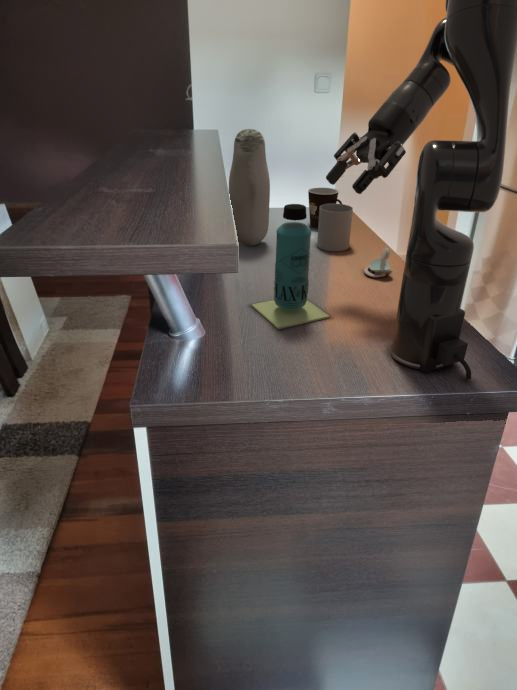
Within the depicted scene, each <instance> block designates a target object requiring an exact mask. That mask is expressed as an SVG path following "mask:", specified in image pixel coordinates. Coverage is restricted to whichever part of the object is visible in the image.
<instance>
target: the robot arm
mask: <svg viewBox="0 0 517 690" xmlns="http://www.w3.org/2000/svg"><path fill="white" fill-rule="evenodd" d="M444 2H445V3H444V9H445V13H446V17H444V18H442V19H441V20H440V21H439V22H438V23H437V24H436V26H435V27H434V29H433V31H432V33H431V35H430V37H429V40H428V42H427V44H426V46H425V49H424V51H423V53H422V54H421V56H420V58H419V60H418V62H417V63H416V65H415V66H414V68H413V69H412V70H411V71H410V73H409V74H408V75H407V77H405V79H404V80H403V81H402V82H401V83H400V84H399V85H398V87H396V88H395V89H394V90H393V91H392V93H391V94H390V95H389V96H388V97H387V98H386V100H385V101H384V102H383V103H382V105H380V107H379V108H378V110H376V111H375V113H374V114H373V115H372V116H371V118H370V119H369V121H368V123H367V126H368V129H367V132H366V133H365V134H363V135H362V136H359V135H358V134H357V132H353V133H352V134H351V135H350V136H349V137H347V139H346V140H345V141H344V142H343V144H341V146H340V148H338V150H336V152H335V153H334V154H333V158H334V159H335V161H336V163H335V164H334V166H333V167H332V168H331V169H330V170H329V172H328V173H327V174H326V176H325V179H326V181H327V182H328V183H329V184H330V185H332V186H335V184H336V183H337V182H338V181H339V180H340V179H341V177H342V176H343V175H344V174H345V172H346V170H348V169H350V168H351V167H353V166H359V165H360V164H367V167H366V168H367V169H364V170H363V172H362V173H361V174H360V175H359V176H358V177H357V179H356V180H355V181H354V182H353V184H352V189H353V191H354V192H355V193H356V194H358V195H361V194H363V192H364V191H366V190H367V188H368V187H369V186H370V185H371V184H372V183H373V181H374V180H377V179H379V177H382V178H383V179H386V178H387V177H389V175H390V174H391V173H392V172H393V170H394V169H395V167H396V166H397V165H398V164H399V163H400V161H401V160H402V158H403V157H404V156H405V155H406V153H407V151H406V149H405V148H404V146H403V145H405V144H406V142H407V141H408V140H409V138H410V137H411V136H412V135H413V133H414V132H415V131H416V130H417V129H418V128H419V126H420V125H421V124H422V123H423V121H424V120H425V119H426V117H427V116H428V115H429V112H431V109H432V108H433V107H434V106H435V105H436V104H437V102H438V101H439V100H440V99H441V98H442V96H443V95H444V94H445V93H446V92H447V90H448V88H449V87H450V85H451V82H452V81H451V75H450V73H449V70H448V69H447V68H446V66H445V65H443V63H442V62H444V63H446V64H449V65H450V66H453V67H454V69H455V70H456V73H457V74H458V76H459V79H461V83H462V84H463V86H464V88H465V90H466V92H467V94H468V96H469V100H470V103H471V105H472V109H473V113H474V118H475V126H476V140H453V139H452V140H447V139H445V140H444V139H435V140H429V141H428V142H427V143H426V144H425V145H424V146H423V148H422V150H421V152H420V155H419V159H418V163H417V168H416V175H415V187H414V196H413V206H412V216H411V222H410V229H409V236H408V241H407V246H406V254H405V261H404V267H403V273H402V279H401V286H400V291H399V299H398V305H397V309H396V310H397V311H396V316H395V324H394V329H393V330H394V331H393V337H392V342H391V343H392V344H391V345H390V355H391V357H392V359H394V360H395V361H396V362H397V363H399V364H401V365H403V366H406V367H408V368H411V369H416V370H419V371H421V372H423V373H425V374H426V373H430V372H432V371H433V372H434V371H436V370H440V369H443V368H446V367H449V366H450V367H451V366H453V365H454V364H456V363H460V364H461V366H462V367H463V368H464V370H465V379H466V380H467V381H470V380H471V379H472V369H471V366H470V365H469V364H468V362H467V361H466V360H465V358H466V354H467V351H468V350H467V349H468V346H469V343H468V342H466V341H464V340H462V339H461V338H460V337H461V334H462V330H463V326H464V325H463V324H464V321H465V316H466V311H465V310H464V309H462V304H463V300H464V299H463V298H464V295H465V289H466V284H467V280H468V276H469V272H470V267H471V264H472V263H471V262H472V259H473V254H474V248H475V243H474V240H473V239H472V238H471V237H469V235H467V234H465V233H463V232H460V231H458V230H456V229H453V228H452V227H449V226H447V225H446V224H444V223H443V222H441V221H440V220H439V219H438V218H437V213H438V211H441V212H444V211H445V212H459V213H463V212H464V213H485V212H488V211H490V210H491V209H492V208H493V207H494V206H495V203H496V201H497V199H498V197H499V194H500V191H501V190H500V189H501V186H502V180H503V174H504V166H505V153H506V143H507V129H508V115H509V106H510V105H509V103H510V93H511V84H512V79H513V72H514V71H513V70H514V64H515V59H516V53H517V0H445V1H444ZM441 61H442V62H441ZM344 152H345V153H344ZM349 159H350V160H349ZM387 164H388V165H387ZM386 165H387V166H386ZM385 166H386V167H385Z"/></svg>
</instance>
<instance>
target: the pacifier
mask: <svg viewBox="0 0 517 690" xmlns="http://www.w3.org/2000/svg"><path fill="white" fill-rule="evenodd" d="M390 255H391V251H390V249H389V247H387V246H385V247H384V248H383V250H382V252H381V255H380V258H377V259H374V260H372V261H371V262H370V264H369V266H366V267H365V268H364V270H363V272H364V274H365V275H366V276H368V277H371V278H381V277H385V276H386V275H387V274H390V273H393V270H390V269H391V264H390V263H389V262H388V261H387V260H388V259H389V258H390ZM370 271H372V272H374V273H372V272H370Z"/></svg>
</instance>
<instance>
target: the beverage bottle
mask: <svg viewBox="0 0 517 690" xmlns="http://www.w3.org/2000/svg"><path fill="white" fill-rule="evenodd" d="M282 218H283V219H285V220H287V221H288V222H284V223H282V224H280V225H279V227H278V228H277V229H276V245H275V262H274V280H273V285H274V286H273V289H274V293H273V300H274V301H275V304H276V305H277V306H279V307H281V308H285V309H298V308H301V307H303V306H305V304H306V302H307V300H308V297H309V296H308V295H309V284H310V283H309V281H310V280H309V274H310V258H311V253H310V251H311V237H312V230H311V229H310V228H309V226H308V225H307V224H305V223H304V222H299V221H303V220H305V219H307V206H306V205H304V204H301V203H289V204H285V205H284V207H283V213H282Z"/></svg>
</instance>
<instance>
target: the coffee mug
mask: <svg viewBox="0 0 517 690" xmlns="http://www.w3.org/2000/svg"><path fill="white" fill-rule="evenodd" d="M307 194H308V211H309V213H308V214H309V226H310V228H314V229H318V224H319V209H320V206H321V205H324V204H343V202H342V200H340V199H338V198H339V196H338V195H339V190H338V189H336V188H331V187H311V188H309V189H308V191H307ZM337 202H338V203H337Z"/></svg>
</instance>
